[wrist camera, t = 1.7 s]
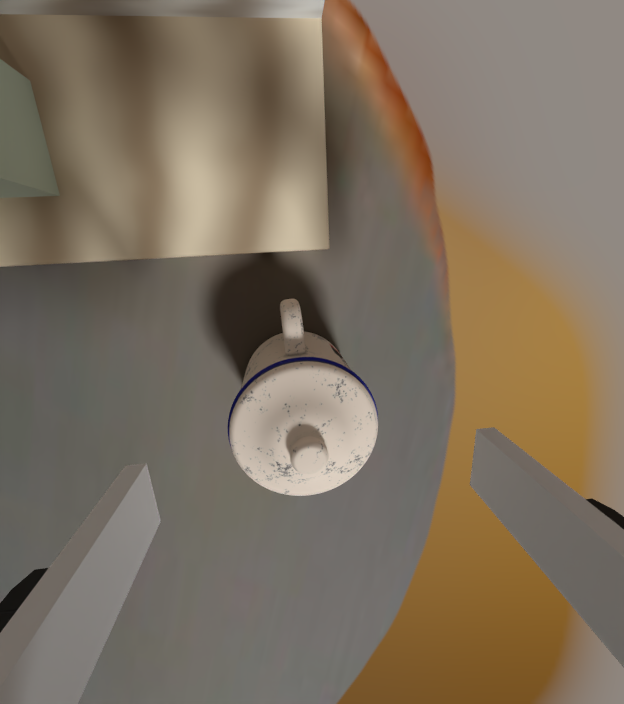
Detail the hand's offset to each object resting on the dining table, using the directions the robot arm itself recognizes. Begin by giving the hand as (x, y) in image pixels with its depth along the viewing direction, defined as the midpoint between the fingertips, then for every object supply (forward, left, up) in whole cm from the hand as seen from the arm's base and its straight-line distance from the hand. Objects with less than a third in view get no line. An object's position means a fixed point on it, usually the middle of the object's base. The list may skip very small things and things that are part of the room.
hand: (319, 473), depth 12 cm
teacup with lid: (0, 0, -15) cm, 15 cm away
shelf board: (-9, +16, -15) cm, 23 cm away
